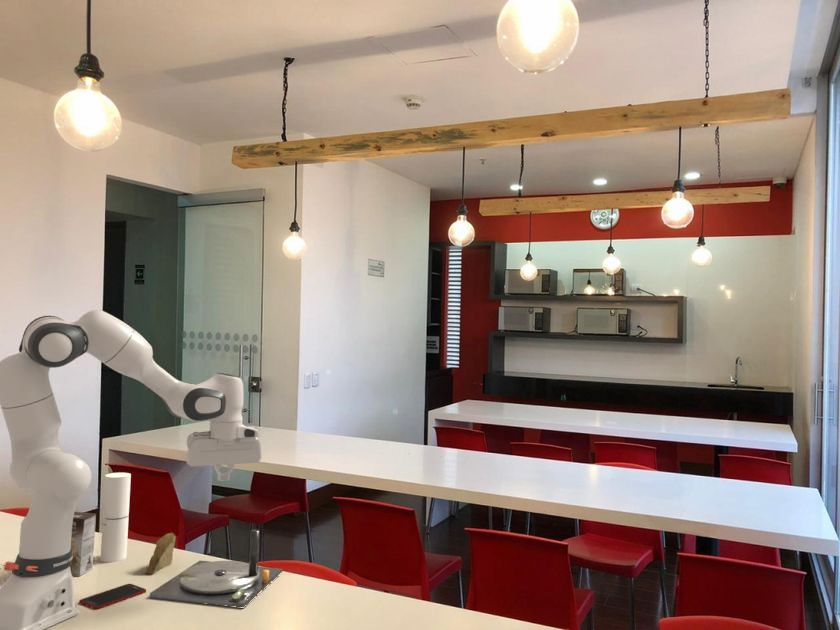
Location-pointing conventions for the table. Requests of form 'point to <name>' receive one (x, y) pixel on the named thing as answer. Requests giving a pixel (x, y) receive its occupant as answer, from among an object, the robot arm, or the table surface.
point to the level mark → (265, 576)
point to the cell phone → (112, 596)
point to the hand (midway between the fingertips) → (223, 480)
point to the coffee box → (82, 542)
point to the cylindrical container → (115, 517)
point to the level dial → (223, 573)
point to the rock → (162, 553)
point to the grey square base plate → (238, 598)
